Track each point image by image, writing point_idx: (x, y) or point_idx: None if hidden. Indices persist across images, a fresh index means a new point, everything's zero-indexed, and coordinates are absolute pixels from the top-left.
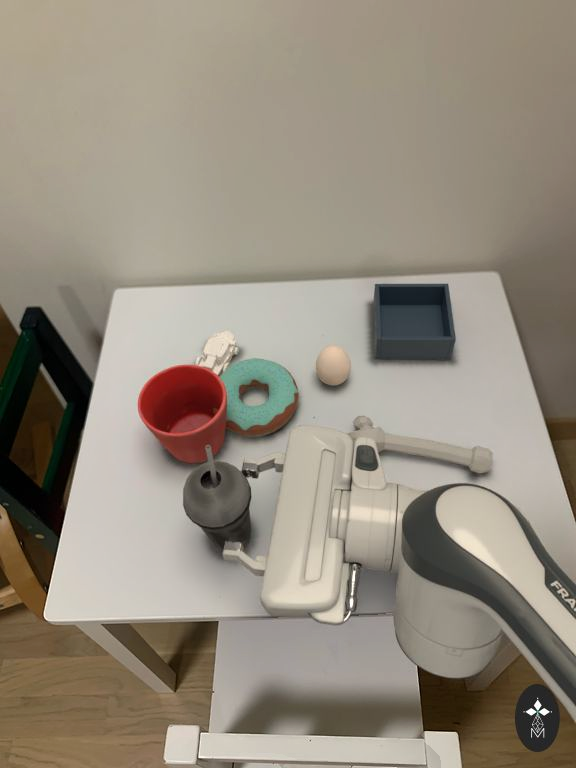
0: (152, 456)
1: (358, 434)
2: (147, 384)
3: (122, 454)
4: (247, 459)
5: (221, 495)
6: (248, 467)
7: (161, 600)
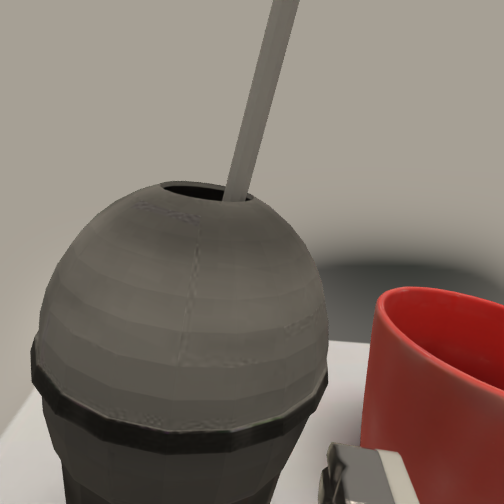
0: (350, 413)
1: None
2: (474, 297)
3: (337, 375)
4: (398, 460)
5: (128, 213)
6: (356, 463)
7: (28, 443)
